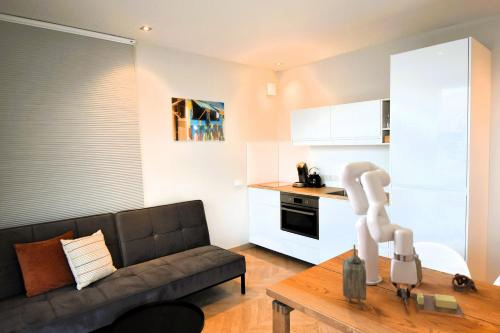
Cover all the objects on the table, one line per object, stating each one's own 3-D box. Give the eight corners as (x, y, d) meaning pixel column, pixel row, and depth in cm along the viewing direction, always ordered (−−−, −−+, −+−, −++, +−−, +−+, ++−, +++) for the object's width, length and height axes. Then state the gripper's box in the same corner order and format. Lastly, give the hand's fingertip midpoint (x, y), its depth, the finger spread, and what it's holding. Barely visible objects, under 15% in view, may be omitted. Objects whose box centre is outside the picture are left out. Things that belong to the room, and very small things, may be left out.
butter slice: (418, 304, 127) (418, 297, 126) (416, 298, 131) (416, 291, 131) (424, 304, 126) (424, 297, 126) (421, 298, 131) (421, 292, 130)
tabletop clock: (366, 312, 124) (366, 251, 122) (343, 309, 126) (342, 250, 125) (364, 295, 138) (363, 240, 136) (343, 293, 140) (342, 239, 139)
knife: (405, 314, 121) (405, 308, 121) (400, 293, 138) (400, 288, 138) (410, 315, 121) (410, 308, 120) (405, 294, 137) (405, 288, 137)
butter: (436, 306, 124) (436, 299, 124) (433, 300, 129) (433, 293, 129) (456, 309, 122) (456, 302, 121) (453, 303, 126) (453, 296, 126)
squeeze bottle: (421, 281, 149) (422, 245, 148) (423, 288, 142) (423, 250, 141) (403, 279, 153) (403, 243, 151) (403, 286, 145) (403, 248, 144)
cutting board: (417, 312, 123) (417, 309, 123) (412, 295, 136) (412, 293, 136) (464, 318, 117) (464, 315, 117) (454, 301, 130) (454, 298, 130)
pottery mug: (484, 297, 134) (478, 283, 132) (462, 304, 136) (456, 291, 134) (467, 278, 145) (461, 265, 143) (447, 286, 147) (441, 273, 145)
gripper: (423, 255, 133) (423, 296, 134) (382, 252, 139) (383, 291, 140) (426, 261, 126) (426, 305, 127) (383, 258, 132) (384, 299, 133)
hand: (403, 297), depth 134 cm, fingers closed
